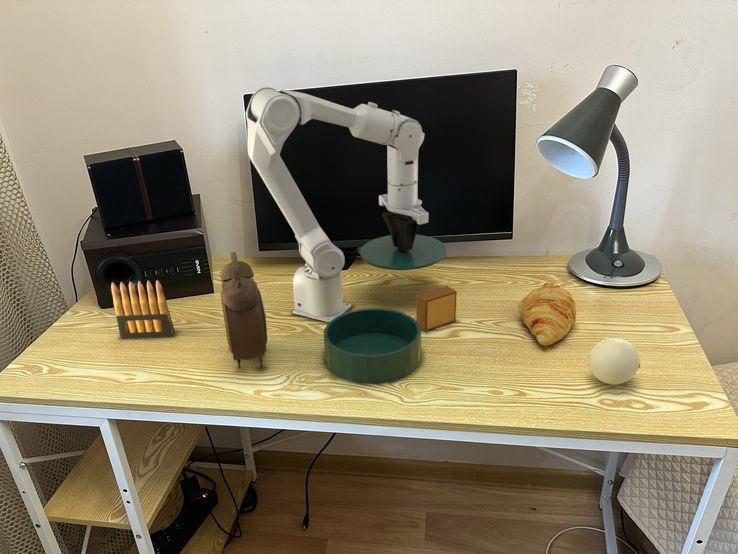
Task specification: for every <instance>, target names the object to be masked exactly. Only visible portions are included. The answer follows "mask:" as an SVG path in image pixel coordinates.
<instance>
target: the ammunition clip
mask: <svg viewBox="0 0 738 554" xmlns="http://www.w3.org/2000/svg"><path fill="white" fill-rule="evenodd" d="M155 289H156V294H155V291H154V287H153V285H152V283H151V281H150V280H147V282H146V290H147V293H146V291H145V288H144V285H143V283H142V282H141V280H138V281H137V290H138V294H137V290H136V288H135V285H134V283H133V282H132V281H131V280H130V281H129V283H128V290H127V287H126V285H125V284H124V282H123V281H120V284H119V290H120V293H119V290H118V287H117V286H116V284H115V282H114V281H112V282H111V294H112V299H113V306H114V310H115V314H116V315H115V317H116V322H117V326H118V332H119V336H120V339H121V340H122V339H123V340H124V339H148V338H149V339H151V338H173V337H174V336H175V333H176V331H175V326H174V323H173V320H172V316H171V312H170V309H169V307H168V303H167V298H166V297H165V293H164V290H163V285H162V284H161V282H160V281H159V279H156V280H155ZM128 291H129V292H128ZM138 296H139V297H138Z"/></svg>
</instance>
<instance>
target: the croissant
mask: <svg viewBox="0 0 738 554" xmlns="http://www.w3.org/2000/svg"><path fill="white" fill-rule="evenodd" d="M517 312H518V314H519V316H521V321H522V322H523V324H525V326H526V327H527V328H528V329H529V332H530V333H531V334H532V335H533V336H534V337H535V338H536V342H538V343H539V344H540V345H542V346H550V345H553V344H555V343H556V342H558V341H560V340H561V339H563V337H565V336H566V335H567V334H568V333H569V332H570V330H571V329H573V328H574V327H575V325H576V322H577V321H576V320H577V307H576V301H575V299H574V297H573V295H572V294H571V293H570V291H568V290H567V289H566V288H563V287H561V286H560V285H554V283H549V282H546V283H544V284H543V285H542V286H541V287H538V288H535V289H533V290H531V291H530V292H529V293H528V294H526V295H524V296H523V297H522V298H521V300H520V301H519V302H518V304H517Z"/></svg>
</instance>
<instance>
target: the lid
mask: <svg viewBox="0 0 738 554" xmlns="http://www.w3.org/2000/svg"><path fill="white" fill-rule="evenodd" d="M447 252H448V248H447V246H446V245H445V244H444V243H443V242H442V241H441V240H440V239H436V238H434V237H431V236H429V235H428V236H427V235H422V234H416V236H415V240H414V243H413V247H412V250H409V251H405V252H403V251H402V250H401V246H400V236H399V233H398V234H397V247H394V245H393V242H392V238H391V235H390V234H389V235H385V236H380V237H377V238H373V239H371V240H369V241H367V243H365V244H364V245H362V247H361V248H360V251H359V255H360V258H361V260H362V261H363V262H364V263H366V264H368V265H370V266H373V267H375V268H378V269H383V270H391V271H409V270H411V271H412V270H418V269H419V270H420V269H423V268H427V267H431V266H434V265H436V264H438V263H440V262H441V261H443V260H444V259H445V257H446V256H447Z"/></svg>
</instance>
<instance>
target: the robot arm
mask: <svg viewBox="0 0 738 554" xmlns="http://www.w3.org/2000/svg"><path fill="white" fill-rule="evenodd" d="M279 90H280V91H279ZM279 90H277V89H275V88H273V87H270V86H264V87H261V88H259V89H257V90H256V91H255V92H253V94H252V95H251V98H250V100H249V103H248V105H247V108H246V111H245V117H246V124H247V155H248V158H249V160H250V162H251V163H252V165H253V166H254V168H255V169H256V171H257V173H258V174H259V176H260V178H261V180H262V181H263V183H264V184H265V186H266V188H267V190H268V191H269V193H270V194H271V196H272V198H273V199H274V201H275V203H276V204H277V206H278V208H279V209H280V211H281V213H282V214H283V216H284V218H285V220H286V222H287V223H288V225H289V226H290V228H291V229H292V232H293V233H294V238H295V239H296V241H297V243H298V251H299V255H300V257H301V258H302V259H303V260H304V261H305V264H304V266H301V267H299V268H298V269H297V270H296V271H295V273H294V276H293V278H292V279H293V280H292V290H293V301H294V309H293V310H292V313H293V314H294V315H298V316H302V317H306V318H310V319H314V320H318V321H322V322H325V323H329V322H330V321H332V320H333V319H334V318H336V317H337V316H339V315H342V314H344V313H346V312H348V310H349V309H350V308H351V307H352V304H351V303H348V302H343V301H344V300H343V286H342V270H343V268H344V266H345V261H346V259H345V258H346V257H345V255H344V252H343V251H342V250H341V249H340V248H339V247H337V246H336V245H334V243H332V241H331V240H330V238H329V237H328V235H327V234H326V232H325V231H324V230H323V228H322V227H321V226H320V224H319V222H318V221H317V219H316V217H315V215H314V214H313V212H312V210H311V208H310V207H309V205H308V203H307V201H306V199H305V198H304V196H303V194H302V192H301V191H300V189H299V187H298V185H297V183H296V182H295V179H294V178H293V177H292V175H291V173H290V171H289V169H288V167H287V166H286V164H285V162H284V160H283V159H282V156H281V152H282V149H283V146H284V143H285V141H286V140H287V139H288V137H289V136H290V134H291V133H292V132H293V131H294V129H295V128H296V127H297V124H298V125H301V126H302V125H305V124H306V123H307V122H309V121H310V120H317V121H321V122H324V123H325V122H326V123H330V124H334V125H337V126H342V127H347V128H348V129H349V131H350V133H351V135H352V136H353V137H354V138H357V139H361V140H365V141H369V142H373V143H376V144H379V145H385V146H386V148H387V149H386V151H387V153H386V155H387V158H386V160H387V161H386V162H387V165H386V166H387V167H386V168H387V169H386V170H387V193H385V194H380V195H378V205H379V206H381V207H384V206H385V208H386V210H387V211H384V212H382V214H381V217H382V218H383V220H384V221H385V223H386V225H387V228H388V231H389V235H391V238H392V242H393V245H394V247H397V234H398V233H399V236H400V246H401V250H402V251H403V252H405V251H409V250H412V247H413V243H414V240H415V236H416V235H417V233H418V232H419V229H420V227H421V225H425V224H427V223H429V212H428V211H426V210H425V209H424V208H423V207H422V204H423V201H422V199H419V195H418V191H419V190H418V189H419V187H418V185H419V149H420V147H421V146H422V144H423V143H424V140H425V136H426V135H425V134H426V133H425V132H423V128H422V125H421V124H420V122H419V121H418V120H417V119H413V118H411V117H409V116H406V115H403V114H401V112H400V111H398V110H394V109H392V111H388V110H385V109H382V108H379V107H378V104H377V103H375V102H372V101H371V102H370V101H368V103H367V104H365V103H360V104H358V105H357V106H356V107H354V108H351V107H348V106H344V105H341V104H338V103H335V102H332V101H330V100H327V99H323V98H320V97H317V96H314V95H311V94H308V93H305V92H299V91H293V90H288V89H279Z"/></svg>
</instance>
